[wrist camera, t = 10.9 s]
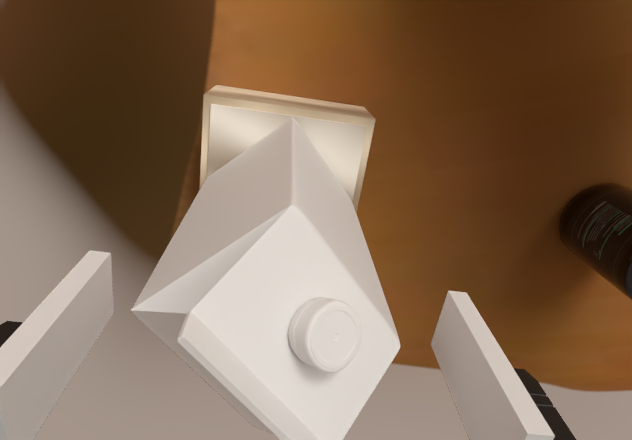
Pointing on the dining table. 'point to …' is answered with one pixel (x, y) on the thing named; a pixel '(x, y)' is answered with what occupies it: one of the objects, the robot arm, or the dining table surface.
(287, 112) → the pedestal
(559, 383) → the dining table surface
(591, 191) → the supplement bottle
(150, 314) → the milk carton
